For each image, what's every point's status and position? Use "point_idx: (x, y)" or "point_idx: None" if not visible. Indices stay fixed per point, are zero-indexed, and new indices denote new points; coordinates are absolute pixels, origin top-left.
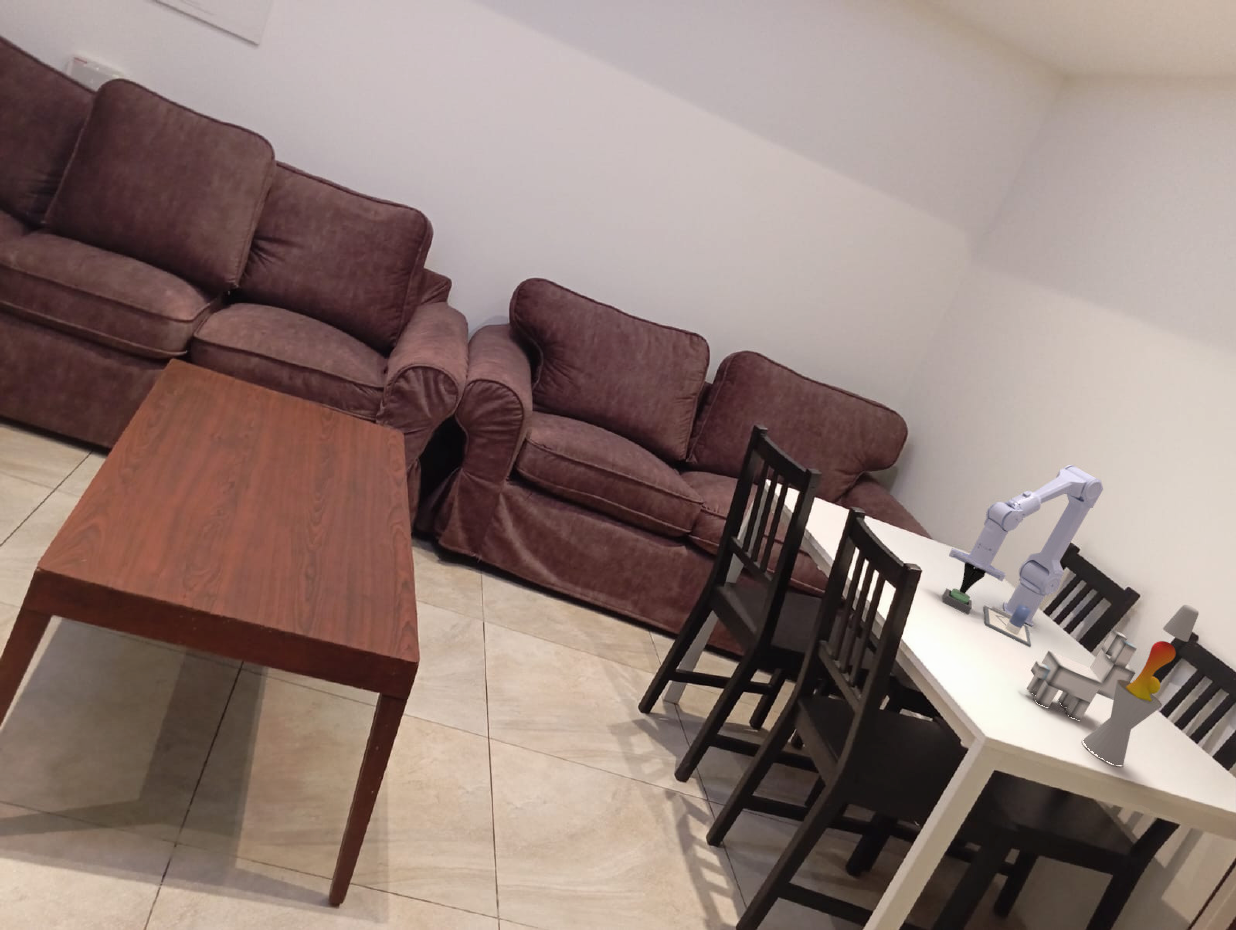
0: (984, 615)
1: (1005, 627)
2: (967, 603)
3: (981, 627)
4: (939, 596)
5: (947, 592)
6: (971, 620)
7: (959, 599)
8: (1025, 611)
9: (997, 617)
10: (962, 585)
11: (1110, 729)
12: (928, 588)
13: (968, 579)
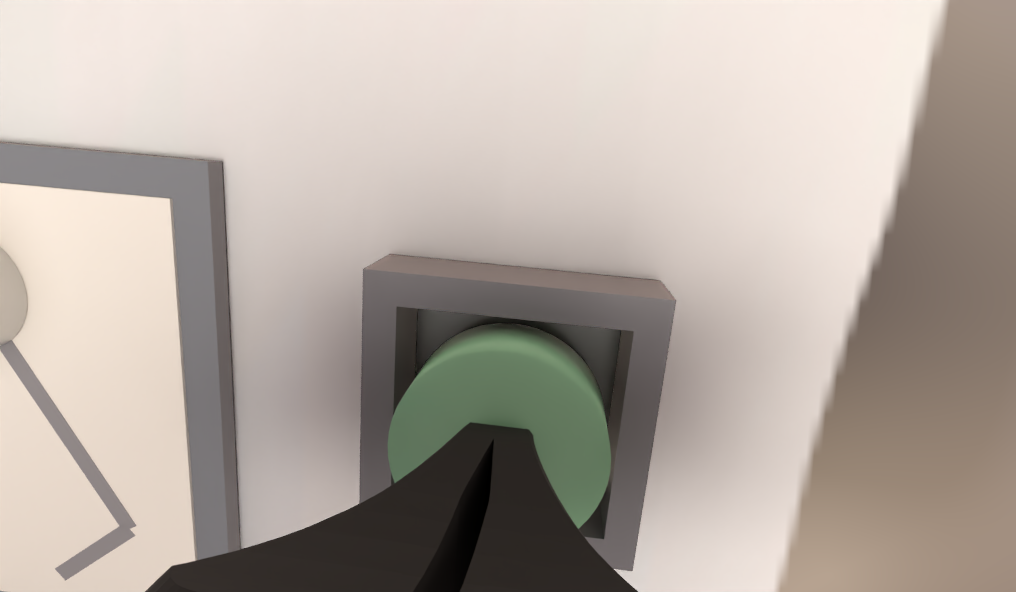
0: (232, 440)
1: (26, 298)
2: None
3: (255, 17)
4: (674, 421)
5: (640, 437)
6: (360, 103)
7: (511, 334)
8: None
9: (115, 494)
10: (540, 463)
11: None
12: (776, 515)
13: (492, 524)
